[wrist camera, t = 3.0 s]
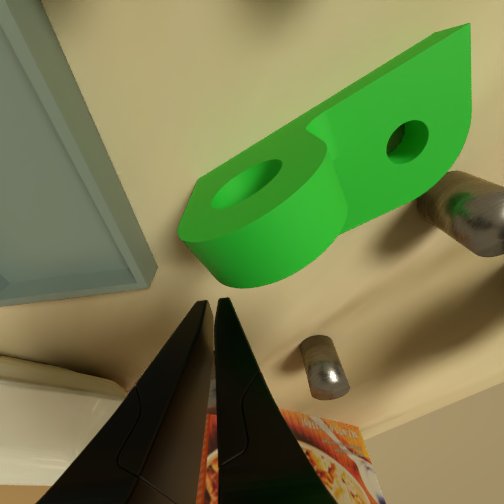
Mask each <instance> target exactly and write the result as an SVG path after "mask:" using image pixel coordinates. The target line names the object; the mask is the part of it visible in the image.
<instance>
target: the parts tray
mask: <svg viewBox="0 0 504 504" xmlns="http://www.w3.org/2000/svg"><path fill="white" fill-rule="evenodd" d="M157 268H158V267H157V264H156V262H155V260H154V258H153V255H152V253H151V251H150V248H149V246H148V244H147V242H146V239H145V237H144V235H143V233H142V230H141V228H140V226H139V223H138V221H137V219H136V217H135V214H134V212H133V210H132V207H131V205H130V203H129V201H128V198H127V196H126V194H125V192H124V189H123V187H122V185H121V182H120V180H119V178H118V176H117V173H116V171H115V169H114V167H113V164H112V162H111V160H110V157H109V155H108V153H107V151H106V148H105V146H104V144H103V142H102V139H101V137H100V135H99V132H98V130H97V128H96V126H95V123H94V121H93V119H92V117H91V114H90V112H89V110H88V107H87V105H86V103H85V101H84V98H83V96H82V94H81V91H80V89H79V87H78V85H77V82H76V80H75V78H74V76H73V73H72V71H71V69H70V66H69V64H68V62H67V60H66V57H65V55H64V53H63V51H62V48H61V46H60V44H59V41H58V39H57V37H56V35H55V32H54V30H53V28H52V26H51V23H50V21H49V19H48V16H47V14H46V12H45V10H44V7H43V5H42V3H41V1H40V0H0V307H2V306H10V305H18V304H26V303H34V302H42V301H50V300H58V299H66V298H74V297H82V296H91V295H99V294H107V293H115V292H123V291H131V290H139V289H147V288H149V287H150V284H151V282H152V280H153V277H154V275H155V273H156V271H157Z"/></svg>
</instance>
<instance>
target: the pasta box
mask: <svg viewBox="0 0 504 504" xmlns="http://www.w3.org/2000/svg"><path fill="white" fill-rule="evenodd" d="M279 410H280V412H281V414H282V415H283V417H284V419H285V421H286V422H287V424H288V426H289V427H290V429H291V431H292V432H293V434H294V436H295V437H296V439H297V441H298V442H299V444H300V446H301V448H302V449H303V451H304V453H305V454H306V456H307V458H308V459H309V461H310V463H311V464H312V466H313V468H314V469H315V471H316V472H317V474H318V475H319V477H320V479H321V480H322V482H323V483H324V484H325V486H326V487H327V489H328V490H329V492H330V493H331V494H332V496H333V497H334V498H335V500H336V501H337V502H338V504H386V503H385V500H384V497H383V494H382V492H381V489H380V486H379V483H378V480H377V478H376V475H375V472H374V469H373V466H372V464H371V461H370V458H369V455H368V452H367V450H366V447H365V444H364V441H363V438H362V436H361V433H360V430H359V427H356V426H352V425H347V424H343V423H339V422H334V421H330V420H326V419H321V418H317V417H313V416H308V415H304V414H300V413H295V412H291V411H287V410H282V409H279ZM218 470H219V468H218V447H217V415H211V414H207V415H206V423H205V432H204V440H203V448H202V457H201V465H200V473H199V481H198V490H197V498H196V504H218Z"/></svg>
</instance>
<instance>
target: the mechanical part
mask: <svg viewBox="0 0 504 504" xmlns="http://www.w3.org/2000/svg"><path fill="white" fill-rule="evenodd" d="M471 113H472V99H471V34H470V23H468V24H464V25H460V26H457V27H453V28H449V29H446V30H442V31H439V32H435V33H434V34H432V35H430V36H429V37H427V38H425V39H424V40H422V41H421V42H419V43H417V44H416V45H414V46H413V47H411V48H409V49H408V50H406V51H404V52H403V53H401V54H400V55H398V56H396V57H395V58H393V59H392V60H390V61H388V62H387V63H385V64H383V65H382V66H380V67H379V68H377V69H375V70H374V71H372V72H371V73H369V74H367V75H366V76H364V77H362V78H361V79H359V80H358V81H356V82H354V83H353V84H351V85H350V86H348V87H346V88H345V89H343V90H341V91H340V92H338V93H337V94H335V95H333V96H332V97H330V98H329V99H327V100H325V101H324V102H322V103H320V104H319V105H317V106H316V107H314V108H312V109H311V110H309V111H308V112H306V113H304V114H303V115H301V116H299V117H298V118H296V119H295V120H293V121H291V122H290V123H288V124H287V125H285V126H283V127H282V128H280V129H278V130H277V131H275V132H274V133H272V134H270V135H269V136H267V137H266V138H264V139H262V140H261V141H259V142H257V143H256V144H254V145H253V146H251V147H249V148H248V149H246V150H245V151H243V152H241V153H240V154H238V155H236V156H235V157H233V158H232V159H230V160H228V161H227V162H225V163H224V164H222V165H220V166H219V167H217V168H215V169H214V170H212V171H211V172H209V173H207V174H206V175H204V176H203V177H201V178H199V179H198V181H197V183H196V185H195V188H194V190H193V192H192V195H191V197H190V200H189V202H188V204H187V207H186V209H185V211H184V214H183V216H182V218H181V221H180V223H179V226H178V236H179V237H180V239H181V240H182V241H183V242H184V243H185V244H186V245H187V247H188V248H189V249H190V250H191V251H192V252H193V253H194V254H195V256H196V257H197V258H198V259H199V260H200V261H201V262H202V264H203V265H204V266H205V267H206V268H207V269H208V270H209V271H210V273H211V274H212V275H213V276H214V277H215V278H216V279H217V280H218V281H219V282H220V283H222V284H224V285H226V286H229V287H233V288H254V287H260V286H264V285H268V284H271V283H274V282H277V281H279V280H282V279H284V278H286V277H288V276H290V275H292V274H294V273H296V272H297V271H299V270H301V269H302V268H304V267H305V266H307V265H308V264H310V263H311V262H312V261H314V260H315V259H316V258H317V257H319V256H320V255H321V254H322V253H323V252H324V251H325V250H326V249H327V248H328V247H329V246H330V245H331V244H332V243H333V241H334V240H335V239H336V237H337V236H338V235H340V234H342V233H344V232H346V231H348V230H350V229H353V228H355V227H357V226H359V225H361V224H363V223H365V222H368V221H370V220H372V219H374V218H376V217H378V216H380V215H383V214H385V213H387V212H389V211H391V210H393V209H395V208H398V207H400V206H402V205H404V204H406V203H408V202H410V201H412V200H414V199H416V198H418V197H419V196H421V195H422V194H424V193H425V192H427V191H428V190H429V189H430V188H432V187H433V186H434V185H435V184H436V183H437V182H438V181H439V180H440V179H441V178H442V177H443V176H444V175H445V174H446V173H447V171H448V170H449V169H450V168H451V166H452V165H453V163H454V162H455V160H456V159H457V157H458V155H459V154H460V152H461V150H462V148H463V146H464V143H465V141H466V138H467V135H468V132H469V128H470V123H471ZM403 123H404V126H405V132H404V136H403V139H402V141H401V143H400V144H399V145H398V146H397V148H395V149H394V150H393V151H392V152H390V153H388V154H387V152H386V148H387V143H388V140H389V138H390V136H391V135H392V133H393V132H394V131H395V130H396V129H397V128H398V127H399V126H400V125H402V124H403Z"/></svg>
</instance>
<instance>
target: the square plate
mask: <svg viewBox="0 0 504 504" xmlns="http://www.w3.org/2000/svg"><path fill="white" fill-rule="evenodd" d="M126 396H127V395H126V393H125V391H124V389H123V388H122V387H121V386H120V385H119V384H117V383H116V382H114V381H111V380H108V379H104V378H100V377H95V376H91V375H86V374H81V373H77V372H75V371H72V370H69V369H65V368H61V367H57V366H52V365H47V364H42V363H37V362H32V361H27V360H22V359H17V358H12V357H7V356H2V355H0V485H47V486H52V485H53V484H54V483H55V482H56V481H57V480H58V478H59V477H60V476H61V475H62V474H63V473H64V471H65V470H66V469H67V468H68V467H69V466H70V464H71V463H72V462H73V461H74V460H75V459H76V457H77V456H78V455H79V454H80V453H81V452H82V450H83V449H84V448H85V447H86V446H87V445H88V443H89V442H90V441H91V440H92V439H93V438H94V436H95V435H96V434H97V433H98V432H99V430H100V429H101V428H102V427H103V426H104V424H105V423H106V422H107V421H108V420H109V418H110V417H111V416H112V415H113V413H114V412H115V411H116V410H117V408H118V407H119V406H120V404H121V403H122V402H123V400H124V399H125V398H126Z"/></svg>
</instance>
